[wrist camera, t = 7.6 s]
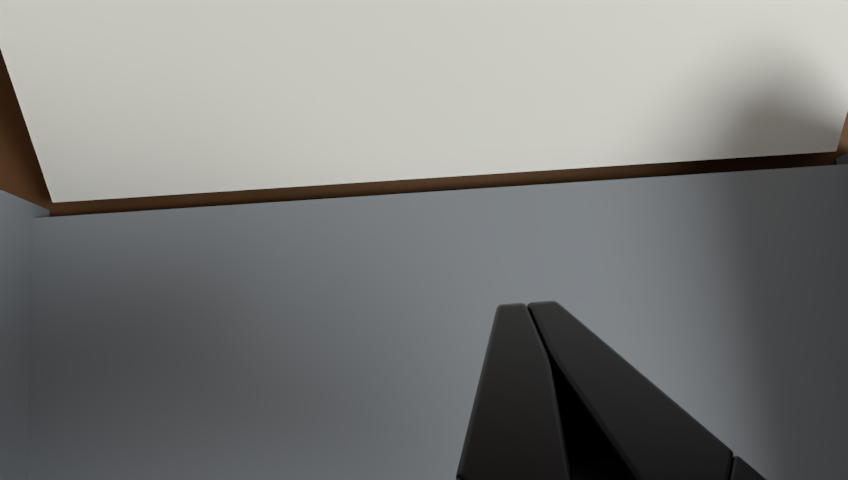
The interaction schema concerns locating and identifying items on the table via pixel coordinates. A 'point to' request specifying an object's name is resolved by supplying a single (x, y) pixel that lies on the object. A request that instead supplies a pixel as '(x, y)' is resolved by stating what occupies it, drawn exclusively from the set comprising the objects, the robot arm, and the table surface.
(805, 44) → the flap
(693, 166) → the table surface
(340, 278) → the carton
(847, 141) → the table surface
